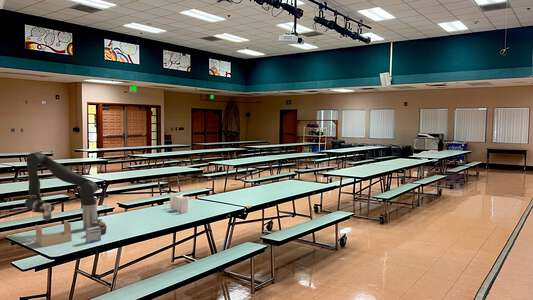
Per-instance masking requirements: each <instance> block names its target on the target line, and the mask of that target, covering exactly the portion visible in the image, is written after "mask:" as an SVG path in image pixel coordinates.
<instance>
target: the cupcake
mask: <svg viewBox="0 0 533 300" xmlns="http://www.w3.org/2000/svg"><path fill="white" fill-rule="evenodd" d="M97 226H98V227H100V228H101V236H104V235H106V233H107V229H108V226H107V224H106V222H105V221H104V220H103V219H102V218H98V220H94V223H92V227H97ZM92 227H91V228H92Z"/></svg>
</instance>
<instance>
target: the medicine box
mask: <svg viewBox="0 0 533 300" xmlns="http://www.w3.org/2000/svg"><path fill="white" fill-rule="evenodd" d="M84 232H85V242H86V243H88V244H92V243H96V242H101V241H102V235H101V228H100V227H98V226H97V227H92V228H88V229H85V231H84Z"/></svg>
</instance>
